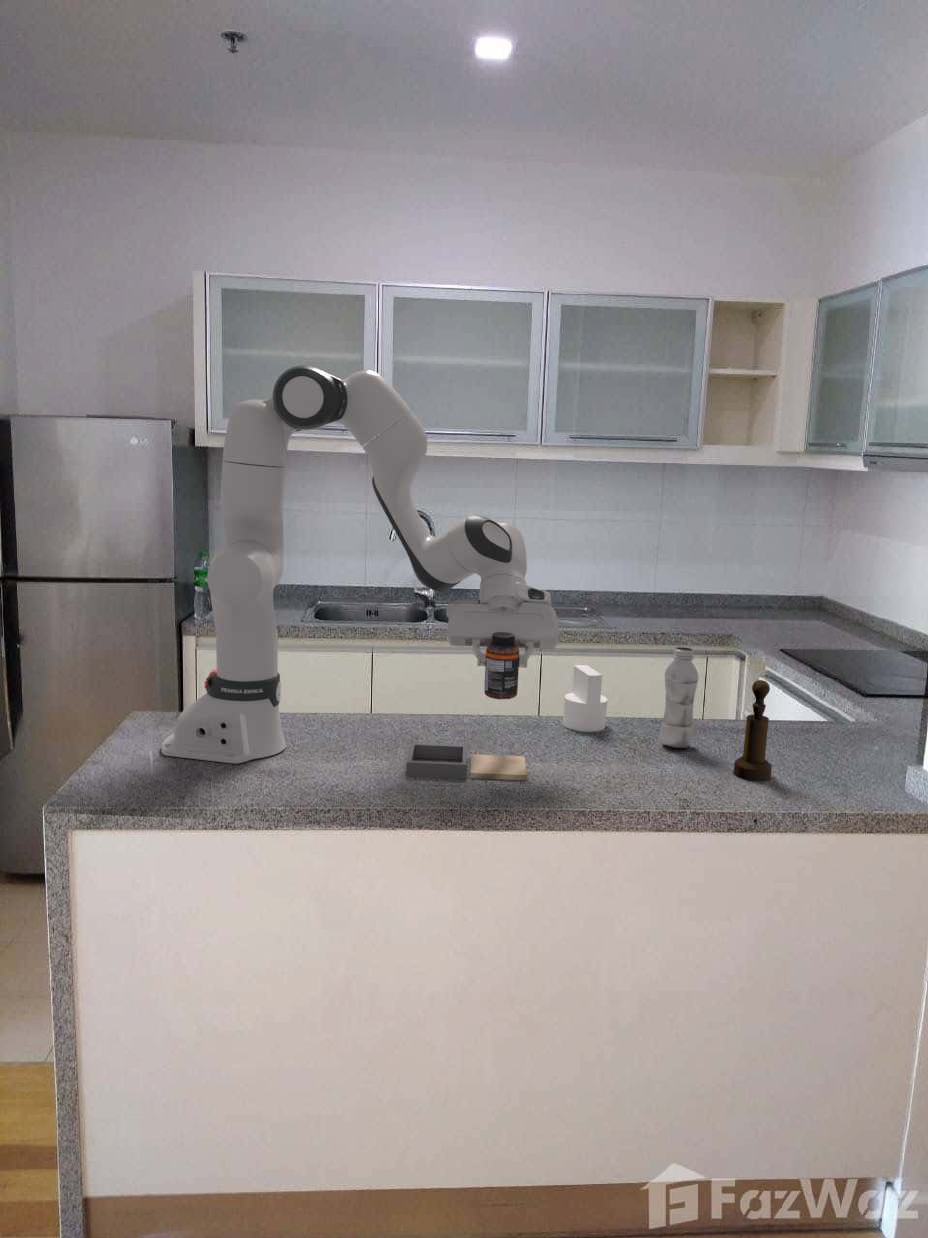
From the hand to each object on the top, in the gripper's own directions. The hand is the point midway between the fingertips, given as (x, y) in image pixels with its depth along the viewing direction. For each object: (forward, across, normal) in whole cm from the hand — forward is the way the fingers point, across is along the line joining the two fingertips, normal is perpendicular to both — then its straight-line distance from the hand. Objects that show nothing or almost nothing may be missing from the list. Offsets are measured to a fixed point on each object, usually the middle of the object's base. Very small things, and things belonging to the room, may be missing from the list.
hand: (502, 665), depth 169 cm
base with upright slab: (-7, +19, +36) cm, 41 cm away
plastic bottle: (+1, +36, +27) cm, 45 cm away
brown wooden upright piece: (+12, +47, +17) cm, 51 cm away
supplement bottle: (+4, 0, +5) cm, 6 cm away
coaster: (+14, 0, +14) cm, 20 cm away
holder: (+13, -11, +14) cm, 22 cm away
